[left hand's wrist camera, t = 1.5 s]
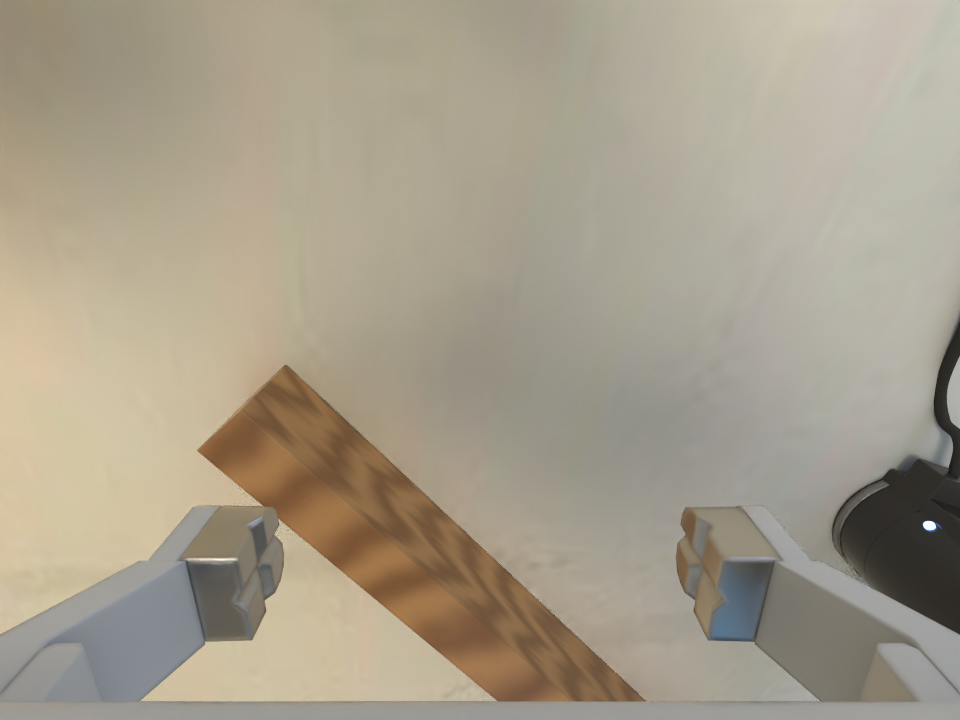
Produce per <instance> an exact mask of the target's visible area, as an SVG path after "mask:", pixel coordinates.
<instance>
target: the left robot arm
mask: <svg viewBox="0 0 960 720" xmlns="http://www.w3.org/2000/svg"><path fill="white" fill-rule="evenodd" d="M278 526H279V520H278V515H277V511H276V510H275V509H274V508H273V507H262V506H196V507H194V508H192V509H191V510H190V511H189V512H188V514H187V515H186V516H185V517H184V518H183V519H182V521H181V522H180V523H179V524H178V525H177V527H176V528H175V529H174V530H173V531H172V533H171V534H170V535H169V536H168V537H167V538H166V540H165V541H164V542H163V543H162V544H161V546H160V547H159V548H158V549H157V550H156V552H155V553H154V554H153V555H152V556H151V558H150V559H149V560H148V561H138V562H136V563H135V564H133V565H131V566H129V567H127V568H125V569H123V570H121V571H119V572H118V573H116V574H114V575H112V576H110V577H108V578H106V579H104V580H102V581H101V582H99V583H97V584H95V585H93V586H91V587H89V588H87V589H85V590H84V591H82V592H80V593H78V594H76V595H74V596H72V597H70V598H68V599H66V600H65V601H63V602H61V603H59V604H57V605H55V606H53V607H51V608H49V609H48V610H46V611H44V612H42V613H40V614H38V615H36V616H34V617H32V618H31V619H29V620H27V621H25V622H23V623H21V624H19V625H17V626H15V627H14V628H12V629H10V630H8V631H6V632H4V633H2V634H0V720H960V635H959V634H957V633H956V632H954V631H952V630H950V629H948V628H946V627H944V626H942V625H940V624H939V623H937V622H935V621H933V620H931V619H929V618H927V617H925V616H923V615H922V614H920V613H918V612H916V611H914V610H912V609H910V608H908V607H906V606H905V605H903V604H901V603H899V602H897V601H895V600H893V599H891V598H890V597H888V596H886V595H884V594H882V593H880V592H878V591H876V590H874V589H873V588H871V587H869V586H867V585H865V584H863V583H861V582H859V581H857V580H856V579H854V578H852V577H850V576H848V575H846V574H844V573H842V572H840V571H839V570H837V569H835V568H833V567H831V566H829V565H827V564H825V563H824V562H822V561H812V560H811V559H810V558H809V556H808V555H807V554H806V553H805V552H804V550H803V549H802V548H801V547H800V546H799V544H798V543H797V542H796V541H795V540H794V539H793V537H792V536H791V535H790V534H789V533H788V531H787V530H786V529H785V528H784V527H783V525H782V524H781V523H780V522H779V521H778V520H777V518H776V517H775V516H774V515H773V514H772V512H771V511H770V510H769V509H768V508H766V507H764V506H762V505H754V506H736V507H686V508H685V510H684V512H683V514H682V520H681V526H682V528H683V530H684V532H685V534H686V535H685V536H684V537H683V538H682V539H681V540H680V541H679V542H678V545H677V553H676V563H677V572H678V576H679V580H680V583H681V585H682V587H683V589H684V592H685V593H686V594H688V595H689V596H690V597H692V598H693V599H694V600H696V601H695V607H694V613H695V615H696V617H697V619H698V621H699V623H700V625H701V627H702V629H703V631H704V633H705V635H706V637H707V639H708V640H715V641H750V642H755V645H757V646H758V647H759V648H760V649H761V650H762V651H764V652H765V653H766V654H767V655H768V656H769V657H770V658H772V659H773V660H774V661H775V662H776V663H777V664H778V665H780V666H781V667H782V668H783V669H784V670H785V671H787V672H788V673H789V674H790V675H791V676H792V677H793V678H795V679H796V680H797V681H798V682H799V683H800V684H801V685H803V686H804V687H805V688H806V689H807V690H808V691H809V692H811V693H812V694H813V695H814V696H815V697H816V698H818V699H819V700H820V701H821V702H575V701H286V702H198V701H140V700H141V699H143V698H144V697H145V696H146V695H147V694H148V693H149V692H151V691H152V690H153V689H154V688H155V687H156V686H158V685H159V684H160V683H161V682H162V681H163V680H164V679H166V678H167V677H168V676H169V675H170V674H171V673H173V672H174V671H175V670H176V669H177V668H178V667H179V666H181V665H182V664H183V663H184V662H185V661H186V660H188V659H189V658H190V657H191V656H192V655H193V654H194V653H196V652H197V651H198V650H199V649H200V648H201V647H202V646H204V645H205V642H209V641H243V640H253V637H254V635H255V633H256V631H257V629H258V627H259V625H260V623H261V621H262V619H263V617H264V615H265V613H266V607H265V601H264V600H266V599H267V598H268V597H270V596H271V595H272V594H274V593H275V592H276V589H277V587H278V585H279V583H280V580H281V575H282V571H283V566H284V551H283V544H282V542H281V541H280V540H279V539H278V538H277V537H276V536H275V535H274V533H275V532H276V530H277V528H278Z"/></svg>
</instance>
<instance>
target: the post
mask: <svg viewBox="0 0 960 720" xmlns="http://www.w3.org/2000/svg"><path fill="white" fill-rule="evenodd" d="M197 451H198V452H199V453H201V454H202V455H203V456H204V457H205V458H207V459H208V460H209V461H210V462H211V463H213V464H214V465H215V466H216V467H217V468H219V469H220V470H221V471H222V472H223V473H225V474H226V475H227V476H228V477H229V478H231V479H232V480H233V481H234V482H235V483H237V484H238V485H239V486H240V487H241V488H243V489H244V490H245V491H246V492H247V493H249V494H250V495H251V496H252V497H253V498H255V499H256V500H257V501H258V502H259V503H261V504H262V505H263V506H264V507H273V508H274V509H275V510H276V511H277V515H278V518H279V519H280V520H281V521H282V522H283V523H285V524H286V525H287V526H288V527H289V528H291V529H292V530H293V531H294V532H295V533H297V534H298V535H299V536H300V537H301V538H303V539H304V540H305V541H306V542H307V543H309V544H310V545H311V546H312V547H313V548H315V549H316V550H317V551H318V552H319V553H321V554H322V555H323V556H324V557H325V558H327V559H328V560H329V561H330V562H331V563H333V564H334V565H335V566H336V567H337V568H339V569H340V570H341V571H342V572H343V573H345V574H346V575H347V576H348V577H349V578H351V579H352V580H353V581H354V582H355V583H357V584H358V585H359V586H360V587H361V588H363V589H364V590H365V591H366V592H367V593H369V594H370V595H371V596H372V597H373V598H375V599H376V600H377V601H378V602H379V603H381V604H382V605H383V606H384V607H385V608H387V609H388V610H389V611H390V612H391V613H393V614H394V615H395V616H396V617H397V618H399V619H400V620H401V621H402V622H403V623H405V624H406V625H407V626H408V627H409V628H411V629H412V630H413V631H414V632H415V633H417V634H418V635H419V636H420V637H421V638H423V639H424V640H425V641H426V642H427V643H429V644H430V645H431V646H432V647H433V648H435V649H436V650H437V651H438V652H439V653H441V654H442V655H443V656H444V657H445V658H447V659H448V660H449V661H450V662H451V663H453V664H454V665H455V666H456V667H457V668H459V669H460V670H461V671H462V672H463V673H465V674H466V675H467V676H468V677H469V678H471V679H472V680H473V681H474V682H475V683H477V684H478V685H479V686H480V687H481V688H483V689H484V690H485V691H486V692H487V693H489V694H490V695H491V696H492V697H493V698H495V699H496V700H497V701H575V702H646V701H645V700H644V699H643V698H642V697H641V696H640V695H638V694H637V693H636V692H635V691H634V690H633V689H632V688H631V687H630V686H629V685H628V684H627V683H626V682H625V681H623V680H622V679H621V678H620V677H619V676H618V675H617V674H616V673H615V672H614V671H613V670H612V669H611V668H610V667H609V666H607V665H606V664H605V663H604V662H603V661H602V660H601V659H600V658H599V657H598V656H597V655H596V654H595V653H594V652H592V651H591V650H590V649H589V648H588V647H587V646H586V645H585V644H584V643H583V642H582V641H581V640H580V639H579V638H578V637H576V636H575V635H574V634H573V633H572V632H571V631H570V630H569V629H568V628H567V627H566V626H565V625H564V624H563V623H561V622H560V621H559V620H558V619H557V618H556V617H555V616H554V615H553V614H552V613H551V612H550V611H549V610H548V609H547V608H545V607H544V606H543V605H542V604H541V603H540V602H539V601H538V600H537V599H536V598H535V597H534V596H533V595H532V594H530V593H529V592H528V591H527V590H526V589H525V588H524V587H523V586H522V585H521V584H520V583H519V582H518V581H517V580H516V579H514V578H513V577H512V576H511V575H510V574H509V573H508V572H507V571H506V570H505V569H504V568H503V567H502V566H501V565H499V564H498V563H497V562H496V561H495V560H494V559H493V558H492V557H491V556H490V555H489V554H488V553H487V552H486V551H485V550H483V549H482V548H481V547H480V546H479V545H478V544H477V543H476V542H475V541H474V540H473V539H472V538H471V537H470V536H468V535H467V534H466V533H465V532H464V531H463V530H462V529H461V528H460V527H459V526H458V525H457V524H456V523H455V522H454V521H452V520H451V519H450V518H449V517H448V516H447V515H446V514H445V513H444V512H443V511H442V510H441V509H440V508H439V507H437V506H436V505H435V504H434V503H433V502H432V501H431V500H430V499H429V498H428V497H427V496H426V495H425V494H424V493H423V492H421V491H420V490H419V489H418V488H417V487H416V486H415V485H414V484H413V483H412V482H411V481H410V480H409V479H408V478H406V477H405V476H404V475H403V474H402V473H401V472H400V471H399V470H398V469H397V468H396V467H395V466H394V465H393V464H392V463H390V462H389V461H388V460H387V459H386V458H385V457H384V456H383V455H382V454H381V453H380V452H379V451H378V450H377V449H375V448H374V447H373V446H372V445H371V444H370V443H369V442H368V441H367V440H366V439H365V438H364V437H363V436H362V435H361V434H359V433H358V432H357V431H356V430H355V429H354V428H353V427H352V426H351V425H350V424H349V423H348V422H347V421H346V420H344V419H343V418H342V417H341V416H340V415H339V414H338V413H337V412H336V411H335V410H334V409H333V408H332V407H331V406H330V405H328V404H327V403H326V402H325V401H324V400H323V399H322V398H321V397H320V396H319V395H318V394H317V393H316V392H315V391H313V390H312V389H311V388H310V387H309V386H308V385H307V384H306V383H305V382H304V381H303V380H302V379H301V378H300V377H299V376H297V375H296V374H295V373H294V372H293V371H292V370H291V369H290V368H289V367H288V366H287V365H285V366H284V367H283V368H282V369H281V370H279V371H278V372H277V373H276V374H275V375H274V376H273V377H272V378H271V379H270V380H269V381H268V382H266V383H265V384H264V385H263V386H262V387H261V388H260V389H259V390H258V391H257V392H256V393H254V394H253V395H252V396H251V397H250V398H249V399H248V400H247V401H246V402H245V403H244V404H243V405H242V406H241V407H240V408H239V409H238V410H237V411H236V412H235V413H234V414H233V415H232V416H231V417H230V418H229V419H228V420H227V421H226V422H225V423H224V424H223V425H222V426H221V427H220V428H219V429H218V430H217V431H216V432H215V433H214V434H213V435H212V436H211V437H210V438H209V439H208V440H207V441H206V442H205V443H204V444H203V445H202V446H201V447H200V448H199V449H198V450H197Z"/></svg>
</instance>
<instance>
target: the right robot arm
mask: <svg viewBox="0 0 960 720" xmlns="http://www.w3.org/2000/svg"><path fill="white" fill-rule="evenodd" d="M959 356H960V323H959V325H958V328H957V330H956V333H955V335H954V337H953V340H952V342H951V344H950V346H949V349H948V351H947V353H946V355H945V357H944V360H943V362H942V365H941V367H940V370H939V373H938V378H937V384H936V389H935V397H934V408H935V414H936V418H937V422H938V424H939V426H940V427H941V428H942V429H943V430H944V431H945V432H947V433H948V434H949V435H950V436H951V438H952V441H953V454H952V458H951V462H950V465H949V469H948V468H945V467H942V466H939V465H936V464H933V463H930V462H927V461H924V460H921V459H917V460H916V461H915V463H914V464H913V466H912V467H911V468H910V470H909V471H908V472H907V473H905V472H901V471H898V470H895V469H892V470H890V471H889V472H888V474H887V475H886V476H885V477H884V478H883V479H882V480H881V481H878V482H876V483H873V484H871V485H869V486H867V487H866V488H864V489H862V490H861V491H859V492H858V493H857V494H855V495H854V496H853V497H852V498H851V499H850V500H849V501H848V502H847V503H846V504H845V505H844V507H843V508H842V509H841V511H840V512H839V514H838V516H837V518H836V521H835V524H834V529H833V540H834V544H835V546H836V549H837V550H838V552H839V553H840V555H841V556H842V557H843V558H844V559H845V560H846V561H847V563H848V564H850V565H851V566H852V567H853V568H854V570H855V571H856V572H857V573H858V574H859V575H860V576H861V577H862V578H863V579H864V580H865V581H866V582H867V583H868V585H869V586H870V587H871V588H873V589H874V590H876V591H878V592H880V593H882V594H884V595H886V596H888V597H890V598H891V599H893V600H895V601H897V602H899V603H901V604H903V605H905V606H906V607H908V608H910V609H912V610H914V611H916V612H918V613H920V614H922V615H923V616H925V617H927V618H929V619H931V620H933V621H935V622H937V623H939V624H940V625H942V626H944V627H946V628H948V629H950V630H952V631H954V632H956V633H957V634H959V635H960V429H959V428H958V427H956V426H955V425H954V424H953V423H952V422H951V421H950V417H949V413H948V408H947V388H948V384H949V380H950V377H951V374H952V372H953V369H954V367H955V365H956V363H957V360H958V358H959Z"/></svg>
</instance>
